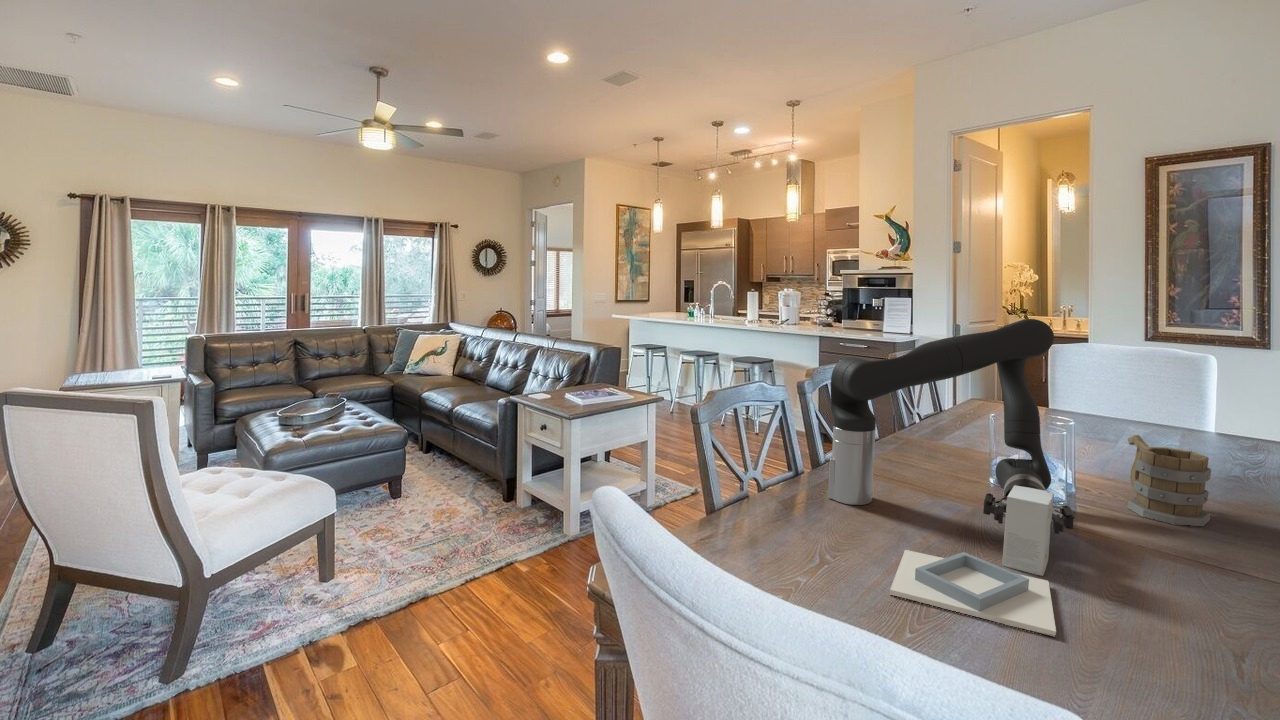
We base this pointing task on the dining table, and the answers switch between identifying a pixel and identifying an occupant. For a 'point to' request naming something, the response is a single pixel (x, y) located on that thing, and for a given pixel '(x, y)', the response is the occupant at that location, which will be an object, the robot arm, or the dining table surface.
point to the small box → (1027, 529)
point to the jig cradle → (976, 589)
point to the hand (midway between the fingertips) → (1028, 523)
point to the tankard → (1169, 484)
